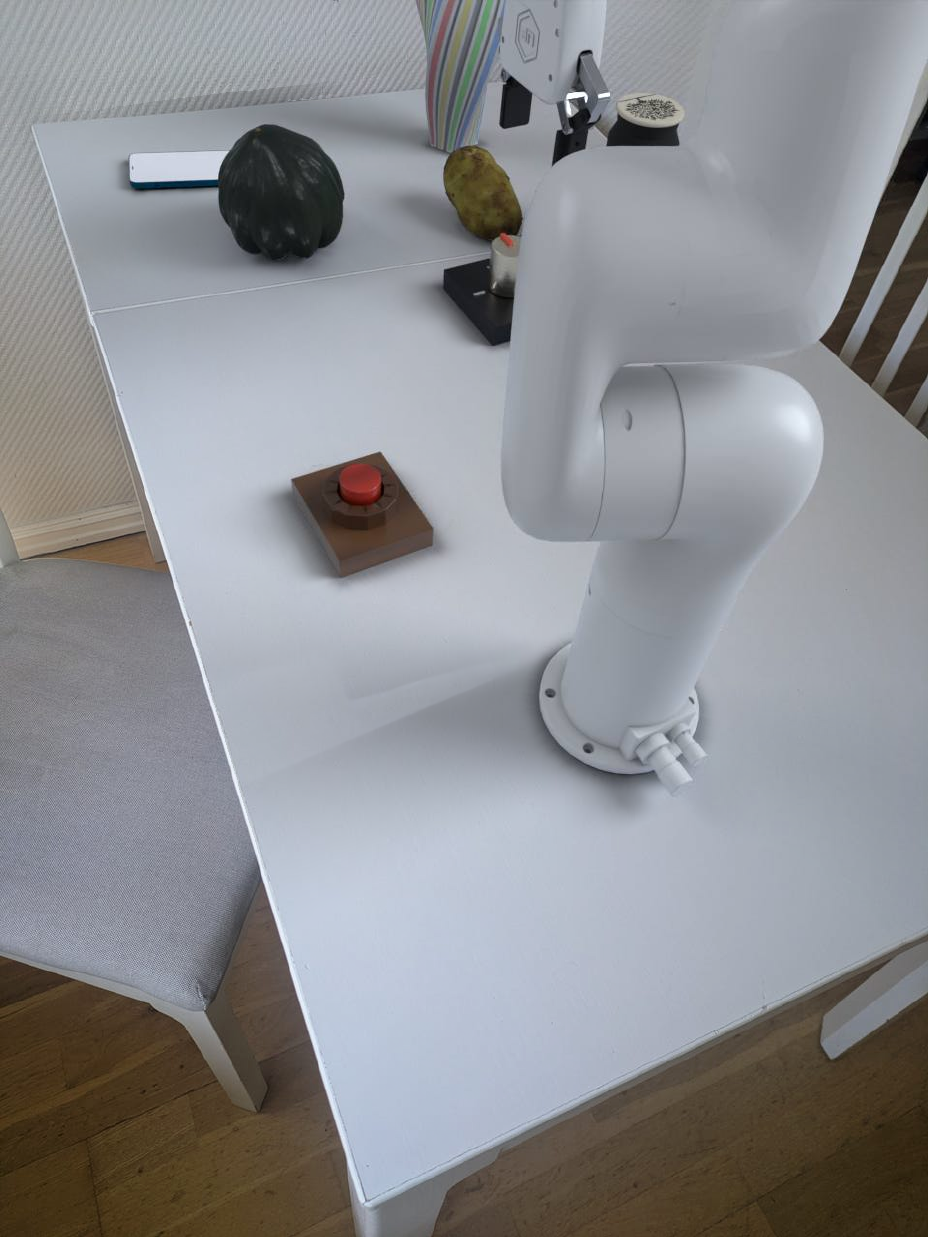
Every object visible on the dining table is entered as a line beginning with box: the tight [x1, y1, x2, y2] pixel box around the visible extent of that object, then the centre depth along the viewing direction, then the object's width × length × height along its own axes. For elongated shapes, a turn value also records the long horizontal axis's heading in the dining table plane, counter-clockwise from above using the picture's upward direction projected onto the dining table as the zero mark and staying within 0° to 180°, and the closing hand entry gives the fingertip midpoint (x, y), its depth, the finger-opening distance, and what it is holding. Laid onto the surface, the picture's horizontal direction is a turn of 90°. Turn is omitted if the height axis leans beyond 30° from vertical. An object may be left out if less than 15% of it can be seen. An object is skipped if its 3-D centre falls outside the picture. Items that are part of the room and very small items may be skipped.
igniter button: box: [339, 464, 381, 506], centre depth 79 cm, size 4×4×2 cm
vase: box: [415, 0, 506, 154], centre depth 116 cm, size 14×14×30 cm
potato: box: [442, 145, 524, 241], centre depth 112 cm, size 8×13×8 cm, turn 15°
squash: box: [217, 123, 346, 261], centre depth 105 cm, size 14×15×15 cm
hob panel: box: [442, 257, 514, 347], centre depth 104 cm, size 12×10×3 cm
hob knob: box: [488, 233, 521, 298], centre depth 101 cm, size 4×4×5 cm
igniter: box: [290, 451, 435, 578], centre depth 81 cm, size 11×9×4 cm
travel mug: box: [605, 92, 685, 147], centre depth 105 cm, size 8×8×18 cm
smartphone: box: [128, 149, 231, 189], centre depth 118 cm, size 8×1×16 cm
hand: (539, 147), depth 88 cm, fingers open, 9 cm apart
